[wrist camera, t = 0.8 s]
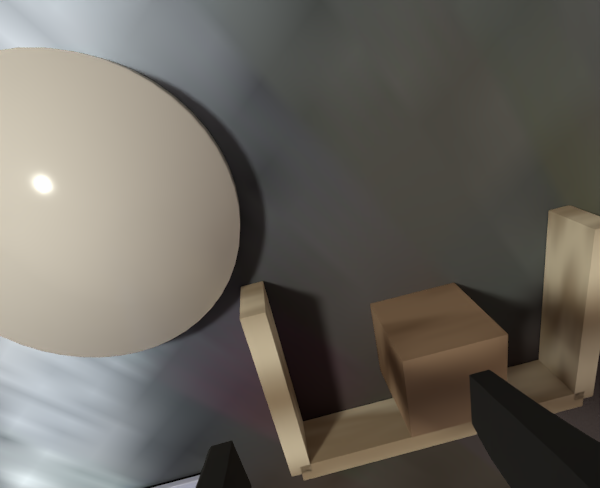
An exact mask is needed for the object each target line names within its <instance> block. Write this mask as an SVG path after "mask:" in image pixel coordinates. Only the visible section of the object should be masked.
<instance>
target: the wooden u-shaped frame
mask: <svg viewBox="0 0 600 488" xmlns="http://www.w3.org/2000/svg"><path fill="white" fill-rule="evenodd" d="M240 321H241V324H242V327H243V330H244V333H245V336H246V339H247V342H248V345H249V348H250V351H251V354H252V357H253V360H254V363H255V366H256V369H257V372H258V375H259V378H260V381H261V384H262V388H263V391H264V394H265V397H266V400H267V403H268V406H269V409H270V412H271V415H272V418H273V421H274V424H275V427H276V430H277V433H278V436H279V439H280V442H281V445H282V448H283V451H284V454H285V457H286V460H287V463H288V466H289V469H290V472H291V475H292V476H296V475H300V474H302V475H303V479H304V480H308V479H311V478H315V477H319V476H323V475H326V474H330V473H334V472H337V471H341V470H345V469H349V468H352V467H356V466H360V465H364V464H367V463H371V462H375V461H378V460H382V459H386V458H390V457H393V456H397V455H401V454H405V453H408V452H412V451H416V450H419V449H423V448H427V447H431V446H434V445H438V444H442V443H446V442H449V441H453V440H457V439H460V438H464V437H468V436H472V435H475V434H477V432H476V430H475V428H474V427H473V425H472V422H469V423H465V424H461V425H457V426H454V427H450V428H446V429H442V430H439V431H435V432H431V433H427V434H424V435H420V436H416V437H411V434H410V432H409V430H408V428H407V426H406V424H405V422H404V419H403V417H402V415H401V413H400V411H399V409H398V407H397V405H396V402H395V400H394V398H391V399H387V400H383V401H379V402H375V403H371V404H368V405H364V406H360V407H356V408H352V409H349V410H345V411H341V412H337V413H333V414H330V415H326V416H322V417H318V418H314V419H311V420H307V421H303V420H302V416H301V413H300V409H299V406H298V402H297V399H296V395H295V392H294V388H293V385H292V381H291V378H290V374H289V371H288V367H287V364H286V360H285V357H284V353H283V350H282V346H281V343H280V339H279V336H278V332H277V329H276V325H275V322H274V318H273V315H272V311H271V308H270V304H269V301H268V297H267V294H266V290H265V287H264V283H263V281H262V282H258V283H254V284H250V285H246V286H242V287H241V297H240ZM599 352H600V216H597V215H594V214H592V213H589V212H586V211H584V210H581V209H578V208H576V207H573V206H570V205H569V206H565V207H561V208H556V209H552V210H549V214H548V229H547V243H546V258H545V273H544V287H543V302H542V317H541V331H540V346H539V360H535V361H531V362H528V363H524V364H520V365H516V366H512V367H509V368H507V382H508V383H510V384H511V385H512V386H514V387H515V388H517V389H518V390H519V391H521V392H522V393H524V394H525V395H527V396H528V397H530V398H531V399H533V400H534V401H535V402H537V403H538V404H540V405H541V406H543V407H544V408H546V409H547V410H549V411H550V412H552V413H553V414H554V413H557V412H561V411H565V410H568V409H572V408H576V407H580V406H582V404H583V398H587V397H591V396H593V392H594V385H595V379H596V372H597V365H598V359H599Z"/></svg>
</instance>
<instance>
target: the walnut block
mask: <svg viewBox="0 0 600 488" xmlns="http://www.w3.org/2000/svg"><path fill="white" fill-rule="evenodd" d="M370 306H371V312H372V319H373V325H374V332H375V338H376V345H377V351H378V358H379V364H380V370H381V372H382V375H383V377H384V379H385V381H386V383H387V385H388V387H389V390H390V392H391V394H392V396H393V398H394V400H395V402H396V405H397V407H398V409H399V411H400V413H401V415H402V417H403V419H404V422H405V424H406V426H407V428H408V430H409V432H410V434H411V437H416V436H420V435H424V434H427V433H431V432H435V431H439V430H442V429H446V428H450V427H454V426H457V425H461V424H465V423H469V422H472V418H471V399H470V380H469V375H471V374H474V373H478V372H482V371H485V370H491V371H492V372H494V373H495V374H497V375H498V376H500V377H501V378H502V379H504V380H505V381H507V363H508V334H507V333H506V332H505V331H504V330H503V329H502V328H501V327H500V326H499V325H498V324H497V323H496V322H495V321H494V320H493V319H492V318H491V317H490V316H488V315H487V314H486V313H485V312H484V311H483V310H482V309H481V308H480V307H479V306H478V305H477V304H476V303H475V302H474V301H473V300H472V299H471V298H470V297H469V296H468V295H466V294H465V293H464V292H463V291H462V290H461V289H460V288H459V287H458V286H457V285H456V284H455V283H451V284H447V285H443V286H439V287H435V288H431V289H427V290H423V291H419V292H415V293H411V294H407V295H403V296H399V297H395V298H391V299H387V300H383V301H379V302H376V303H372V304H370Z"/></svg>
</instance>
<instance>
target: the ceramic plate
mask: <svg viewBox="0 0 600 488" xmlns="http://www.w3.org/2000/svg"><path fill="white" fill-rule="evenodd" d="M239 237H240V208H239V199H238V195H237V190H236V186H235V182H234V179H233V176H232V174H231V171H230V168H229V165H228V163H227V161H226V159H225V157H224V155H223V153H222V152H221V150H220V148H219V146H218V144H217V143H216V141H215V140H214V139H213V137H212V136H211V134H210V133H209V131H208V130H207V128H206V127H205V126H204V125H203V124H202V123H201V121H200V120H199V119H198V118H197V117H196V116H195V115H194V113H193V112H192V111H191V110H190V109H189V108H187V107H186V106H185V105H184V104H183V103H182V102H181V101H180V100H179V99H178V98H176V97H175V96H174V95H173V94H171V93H170V92H169V91H167V90H166V89H164V88H163V87H161V86H160V85H159V84H157V83H156V82H154V81H153V80H151V79H149V78H147V77H145V76H143V75H142V74H140V73H138V72H136V71H134V70H132V69H130V68H127V67H125V66H122V65H120V64H117V63H115V62H112V61H110V60H107V59H103V58H99V57H95V56H91V55H88V54H84V53H78V52H73V51H66V50H59V49H51V48H12V49H5V50H0V336H2V337H4V338H7V339H9V340H11V341H14V342H16V343H19V344H21V345H24V346H28V347H31V348H34V349H37V350H41V351H45V352H50V353H55V354H60V355H67V356H77V357H110V356H120V355H126V354H131V353H136V352H140V351H143V350H146V349H149V348H153V347H156V346H158V345H160V344H163V343H165V342H167V341H169V340H172V339H173V338H175V337H177V336H178V335H180V334H182V333H183V332H185V331H187V330H188V329H189V328H190V327H192V326H193V325H194V324H196V323H197V322H198V321H199V320H200V319H201V318H202V317H203V316H204V315H205V314H206V313H207V312H208V311H209V310H210V309H211V308H212V307H213V305H214V304H215V303H216V301H217V300H218V299H219V297H220V296H221V294H222V293H223V291H224V289H225V287H226V285H227V283H228V282H229V280H230V277H231V274H232V271H233V269H234V266H235V263H236V258H237V253H238V249H239Z"/></svg>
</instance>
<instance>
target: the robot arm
mask: <svg viewBox="0 0 600 488" xmlns="http://www.w3.org/2000/svg"><path fill="white" fill-rule="evenodd" d="M469 380H470V399H471V418H472V425H473V427H474V428H475V430H476V432H477V434H478V436H479V438H480V440H481V441H482V443H483V445H484V447H485V449H486V450H487V452H488V454H489V456H490V457H491V459H492V461H493V462H494V464H495V465H496V467H497V468H498V469H499V471H500V472H501V474H502V475H503V477H504V478H505V480H506V481H507V483H508V484H509V485H510V487H511V488H600V442H598V441H596V440H595V439H593V438H591V437H590V436H588V435H586V434H585V433H583V432H582V431H580V430H578V429H577V428H575V427H574V426H572V425H570V424H569V423H567V422H566V421H564V420H563V419H561V418H560V417H558V416H557V415H555V414H553V413H552V412H550V411H549V410H547V409H546V408H544V407H543V406H541V405H540V404H538V403H537V402H535V401H534V400H533V399H531V398H530V397H528V396H527V395H525V394H524V393H522V392H521V391H519V390H518V389H517V388H515V387H514V386H512V385H511V384H510V383H508V382H507V381H505V380H504V379H502V378H501V377H500V376H498V375H497V374H495V373H494V372H492V371H491V370H485V371H482V372H478V373H474V374H471V375H469ZM152 488H251V484H250V481H249V479H248V477H247V474H246V472H245V470H244V467H243V465H242V463H241V461H240V458H239V456H238V454H237V451H236V449H235V447H234V444H233V442H232V441H229V442H225V443H222V444H218V445H214V446H211V448H210V449H209V451H208V454H207V457H206V460H205V463H204V466H203V468H202V471H201V474H200V475H197V476H193V477H190V478H186V479H182V480H178V481H175V482H171V483H167V484H163V485H160V486H156V487H152Z"/></svg>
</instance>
